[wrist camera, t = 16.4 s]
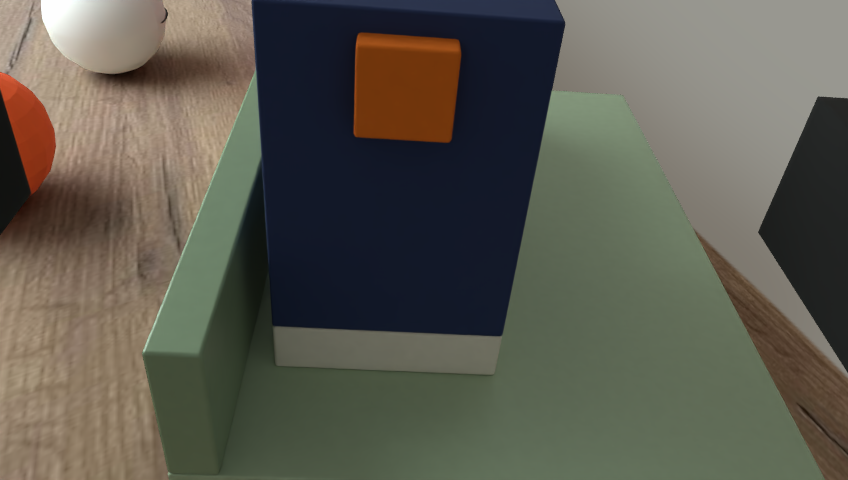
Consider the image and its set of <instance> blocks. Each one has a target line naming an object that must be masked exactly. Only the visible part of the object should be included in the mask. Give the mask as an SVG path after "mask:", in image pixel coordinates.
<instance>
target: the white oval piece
mask: <svg viewBox="0 0 848 480" xmlns="http://www.w3.org/2000/svg"><path fill="white" fill-rule="evenodd" d="M41 6H42V19H43V22H44V24H45V27H46V29H47V31H48V34H49V36H50V38H51V40H52V43H53V44H54V45H55V46H56V47H57V48H58V50H59V51H60V52H61V53H62V54H63V55H64V56H65V57H66V58H68V59H69V60H71V61H72V62H74V63H76V64H77V65H79V66H81V67H82V68H84V69H86V70H89V71H92V72H98V73H106V74H119V73H124V72H127V71H131V70H134V69H137V68H139V67H141V66H143V65H144V64H145V63H146V62H147V61H148V60H149V59H150V58H151V57H152V56H153V55H154V54H155V53H156V52H157V51H158V50H159V47H160V45H161V42H162V40H163V38H164V34H165V23H166V19H167V16H168V12H167V10H166V9H165V7H164V5H163V1H162V0H41Z"/></svg>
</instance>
